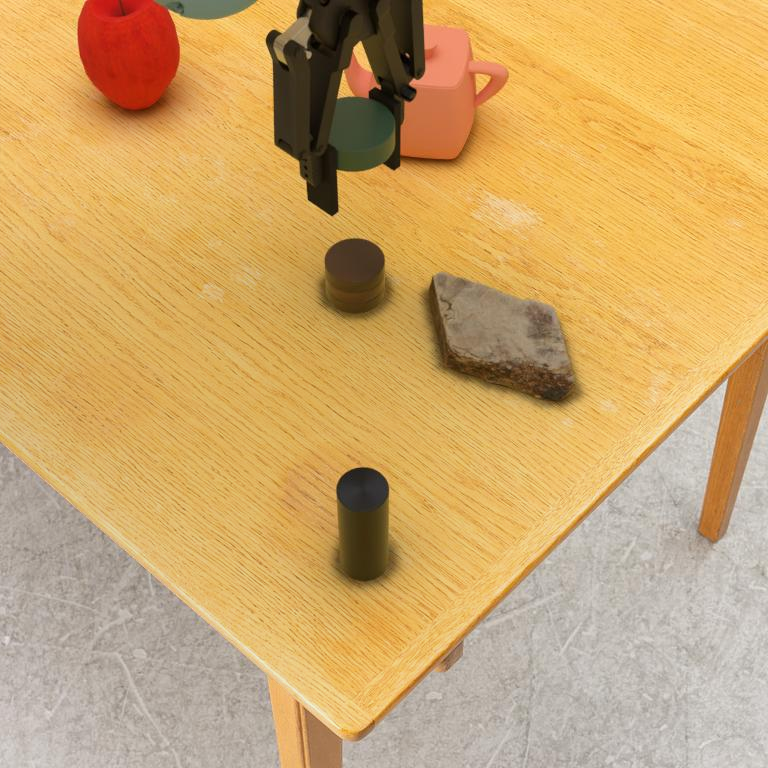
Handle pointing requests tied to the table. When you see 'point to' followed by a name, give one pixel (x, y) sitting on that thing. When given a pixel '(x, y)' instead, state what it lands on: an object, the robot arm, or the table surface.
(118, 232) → the table surface
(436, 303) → the stone
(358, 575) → the black cylinder
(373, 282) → the chip pile
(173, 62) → the apple
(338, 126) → the green chip
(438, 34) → the teapot
